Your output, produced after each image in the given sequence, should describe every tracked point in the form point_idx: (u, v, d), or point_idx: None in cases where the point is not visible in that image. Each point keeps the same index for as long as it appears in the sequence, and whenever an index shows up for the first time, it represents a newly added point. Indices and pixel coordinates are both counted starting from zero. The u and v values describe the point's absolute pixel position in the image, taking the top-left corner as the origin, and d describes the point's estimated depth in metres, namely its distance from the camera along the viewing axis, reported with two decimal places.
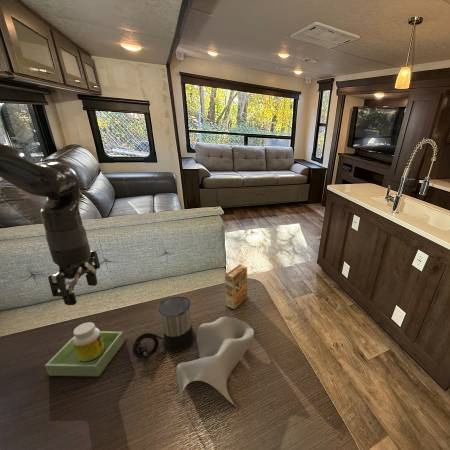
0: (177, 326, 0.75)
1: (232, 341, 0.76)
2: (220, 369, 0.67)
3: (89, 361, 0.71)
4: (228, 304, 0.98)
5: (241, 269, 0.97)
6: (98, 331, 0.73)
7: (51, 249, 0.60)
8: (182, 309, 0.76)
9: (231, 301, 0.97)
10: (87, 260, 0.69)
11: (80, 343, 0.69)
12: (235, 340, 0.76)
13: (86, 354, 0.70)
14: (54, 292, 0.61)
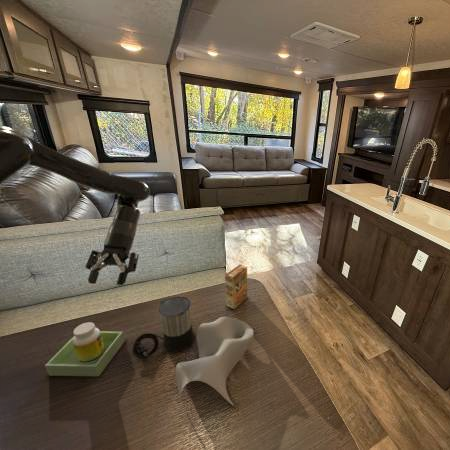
0: (177, 326, 0.75)
1: (232, 341, 0.76)
2: (219, 369, 0.67)
3: (89, 361, 0.71)
4: (228, 304, 0.98)
5: (241, 269, 0.97)
6: (98, 331, 0.73)
7: (128, 235, 0.82)
8: (182, 309, 0.76)
9: (231, 301, 0.97)
10: None
11: (80, 343, 0.69)
12: (235, 340, 0.76)
13: (86, 354, 0.70)
14: None
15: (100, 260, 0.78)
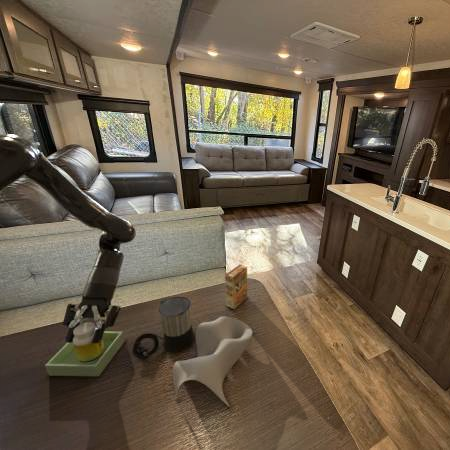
0: (177, 326, 0.75)
1: (230, 341, 0.75)
2: (216, 369, 0.67)
3: (89, 361, 0.71)
4: (228, 304, 0.98)
5: (241, 269, 0.97)
6: None
7: (110, 284, 0.75)
8: (182, 309, 0.76)
9: (231, 301, 0.97)
10: None
11: (80, 343, 0.69)
12: (233, 340, 0.76)
13: (86, 354, 0.70)
14: None
15: None
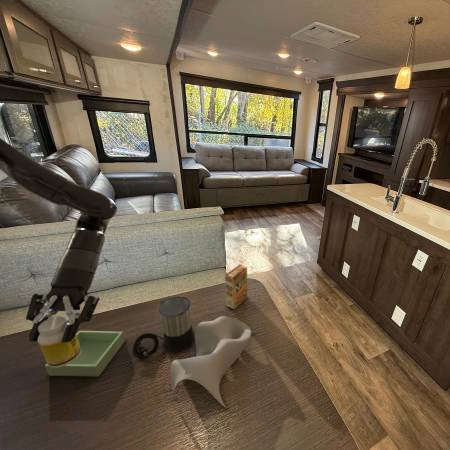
0: (177, 326, 0.75)
1: (228, 341, 0.75)
2: (212, 369, 0.67)
3: (59, 365, 0.58)
4: (228, 304, 0.98)
5: (241, 269, 0.97)
6: None
7: (86, 269, 0.61)
8: (182, 309, 0.76)
9: (231, 301, 0.97)
10: None
11: (47, 342, 0.55)
12: (231, 341, 0.76)
13: (55, 356, 0.57)
14: None
15: None
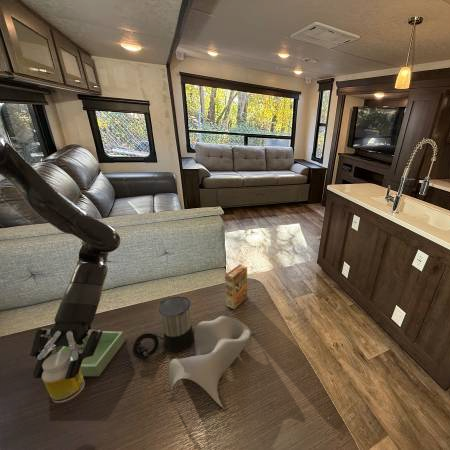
0: (177, 326, 0.75)
1: (227, 341, 0.75)
2: (210, 369, 0.67)
3: (63, 400, 0.59)
4: (228, 304, 0.98)
5: (241, 269, 0.97)
6: None
7: (89, 304, 0.62)
8: (182, 309, 0.76)
9: (231, 301, 0.97)
10: None
11: (51, 379, 0.56)
12: (230, 341, 0.76)
13: (59, 392, 0.57)
14: None
15: None
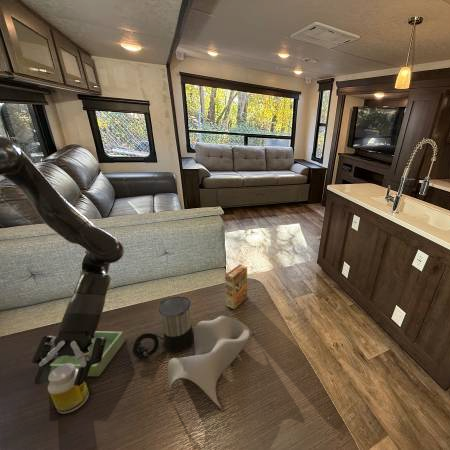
0: (177, 326, 0.75)
1: (226, 341, 0.75)
2: (209, 369, 0.67)
3: (68, 410, 0.60)
4: (228, 304, 0.98)
5: (241, 269, 0.97)
6: None
7: (93, 313, 0.63)
8: (182, 309, 0.76)
9: (231, 301, 0.97)
10: None
11: (57, 391, 0.57)
12: (229, 341, 0.76)
13: (64, 403, 0.59)
14: None
15: (53, 351, 0.60)
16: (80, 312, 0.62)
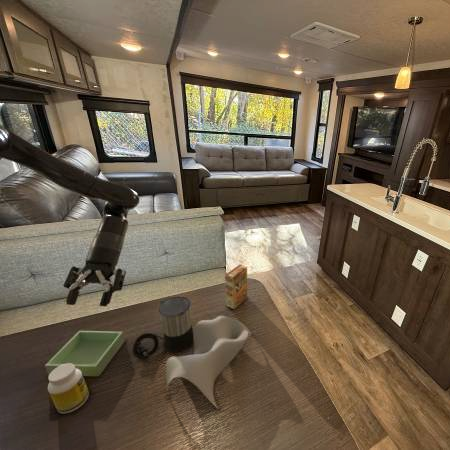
0: (177, 326, 0.75)
1: (224, 341, 0.75)
2: (206, 368, 0.67)
3: (68, 410, 0.60)
4: (228, 304, 0.98)
5: (241, 269, 0.97)
6: (79, 373, 0.61)
7: (114, 249, 0.73)
8: (182, 309, 0.76)
9: (231, 301, 0.97)
10: None
11: (57, 391, 0.57)
12: (228, 341, 0.76)
13: (64, 403, 0.59)
14: None
15: (81, 278, 0.69)
16: (104, 246, 0.71)
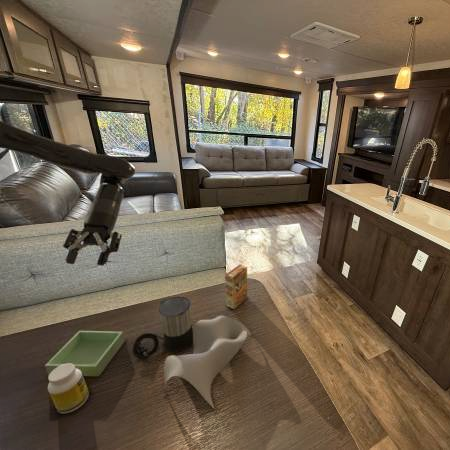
0: (177, 326, 0.75)
1: (223, 341, 0.75)
2: (204, 368, 0.67)
3: (68, 410, 0.60)
4: (228, 304, 0.98)
5: (241, 269, 0.97)
6: (79, 374, 0.61)
7: (110, 214, 0.78)
8: (182, 309, 0.76)
9: (231, 301, 0.97)
10: None
11: (57, 391, 0.57)
12: (226, 341, 0.76)
13: (64, 403, 0.59)
14: None
15: (79, 239, 0.74)
16: (101, 210, 0.76)
